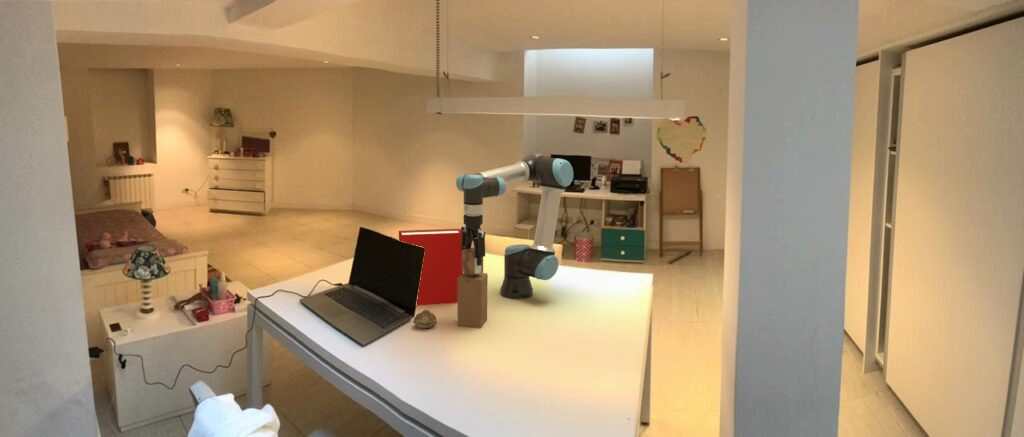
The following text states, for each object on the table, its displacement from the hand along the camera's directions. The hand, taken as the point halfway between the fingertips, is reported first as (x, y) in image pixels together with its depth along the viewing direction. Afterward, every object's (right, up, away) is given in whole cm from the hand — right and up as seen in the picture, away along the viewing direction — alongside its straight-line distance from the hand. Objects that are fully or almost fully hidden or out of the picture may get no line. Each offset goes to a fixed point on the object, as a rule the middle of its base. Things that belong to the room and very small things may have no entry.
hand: (472, 271), depth 250 cm
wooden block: (0, -22, +4) cm, 22 cm away
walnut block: (0, 0, 0) cm, 0 cm away
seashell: (-19, -22, -1) cm, 29 cm away
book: (-20, -16, +29) cm, 39 cm away
